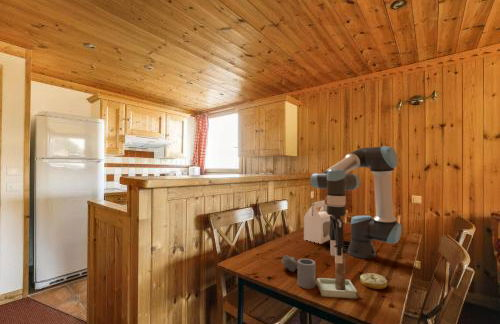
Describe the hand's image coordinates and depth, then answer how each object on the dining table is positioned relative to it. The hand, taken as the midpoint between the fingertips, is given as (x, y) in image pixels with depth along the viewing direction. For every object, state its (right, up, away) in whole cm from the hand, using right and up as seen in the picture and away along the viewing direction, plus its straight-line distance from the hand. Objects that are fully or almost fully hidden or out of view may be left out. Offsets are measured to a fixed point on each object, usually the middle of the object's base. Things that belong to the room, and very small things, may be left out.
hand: (336, 258), depth 104 cm
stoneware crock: (-12, -13, +5) cm, 18 cm away
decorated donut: (+19, -14, +6) cm, 24 cm away
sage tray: (0, -13, 0) cm, 13 cm away
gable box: (+15, -16, +76) cm, 79 cm away
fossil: (-16, -14, +20) cm, 29 cm away
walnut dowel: (+1, -12, 0) cm, 12 cm away
